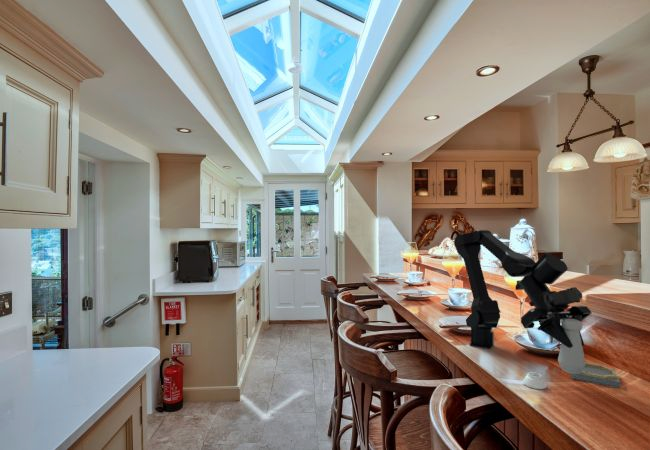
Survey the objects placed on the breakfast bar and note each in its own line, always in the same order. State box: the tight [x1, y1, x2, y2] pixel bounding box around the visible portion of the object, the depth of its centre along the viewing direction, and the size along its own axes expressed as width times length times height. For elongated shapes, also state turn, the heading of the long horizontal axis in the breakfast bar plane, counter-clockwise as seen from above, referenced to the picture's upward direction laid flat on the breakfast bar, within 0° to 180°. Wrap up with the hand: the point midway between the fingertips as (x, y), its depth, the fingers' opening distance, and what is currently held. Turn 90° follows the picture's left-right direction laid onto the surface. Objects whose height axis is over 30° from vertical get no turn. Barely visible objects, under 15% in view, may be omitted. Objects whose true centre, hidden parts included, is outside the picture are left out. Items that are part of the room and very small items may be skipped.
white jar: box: [522, 371, 547, 390], centre depth 90 cm, size 5×3×5 cm
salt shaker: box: [557, 319, 587, 375], centre depth 91 cm, size 6×6×13 cm
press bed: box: [570, 361, 621, 389], centre depth 96 cm, size 10×10×2 cm
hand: (576, 346), depth 89 cm, fingers closed on salt shaker, 3 cm apart
